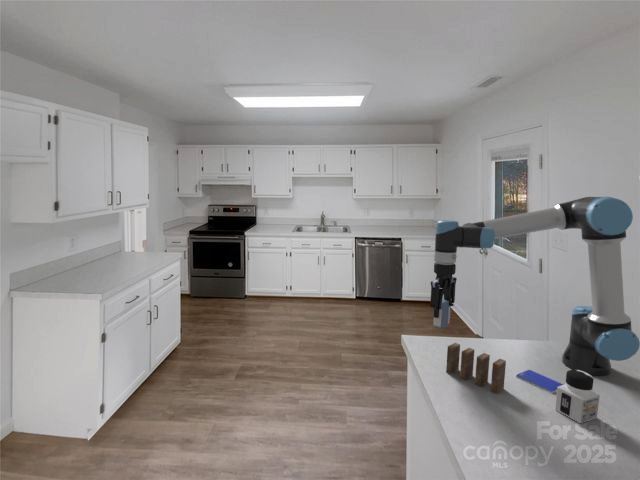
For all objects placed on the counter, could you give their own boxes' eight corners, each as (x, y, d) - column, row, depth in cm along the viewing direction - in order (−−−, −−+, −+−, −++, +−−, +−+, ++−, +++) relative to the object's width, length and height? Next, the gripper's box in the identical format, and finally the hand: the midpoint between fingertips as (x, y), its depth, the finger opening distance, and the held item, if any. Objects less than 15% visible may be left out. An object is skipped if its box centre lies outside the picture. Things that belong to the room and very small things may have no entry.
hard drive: (516, 374, 132) (552, 390, 121) (529, 369, 136) (565, 384, 125) (515, 378, 132) (551, 395, 121) (529, 373, 136) (565, 388, 125)
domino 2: (472, 376, 132) (474, 349, 131) (465, 380, 129) (467, 353, 128) (467, 373, 134) (469, 347, 133) (460, 378, 131) (461, 351, 129)
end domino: (435, 327, 137) (436, 301, 136) (442, 324, 140) (444, 299, 139) (439, 329, 136) (441, 303, 134) (447, 326, 139) (448, 300, 137)
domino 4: (503, 388, 124) (506, 360, 123) (496, 393, 121) (499, 365, 119) (497, 386, 125) (499, 358, 124) (490, 391, 122) (492, 362, 121)
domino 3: (487, 382, 128) (489, 354, 127) (480, 387, 125) (482, 359, 124) (482, 380, 130) (484, 352, 128) (474, 384, 126) (476, 356, 125)
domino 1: (458, 370, 137) (460, 344, 135) (451, 374, 133) (452, 348, 132) (453, 368, 138) (455, 342, 137) (446, 372, 135) (447, 346, 134)
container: (580, 424, 105) (585, 382, 103) (554, 410, 112) (558, 369, 110) (597, 418, 108) (602, 376, 106) (570, 404, 115) (575, 365, 113)
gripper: (440, 267, 126) (436, 332, 129) (467, 261, 137) (463, 321, 141) (421, 264, 132) (418, 326, 135) (449, 258, 143) (445, 316, 146)
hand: (441, 323), depth 138 cm, fingers closed on end domino, 5 cm apart
